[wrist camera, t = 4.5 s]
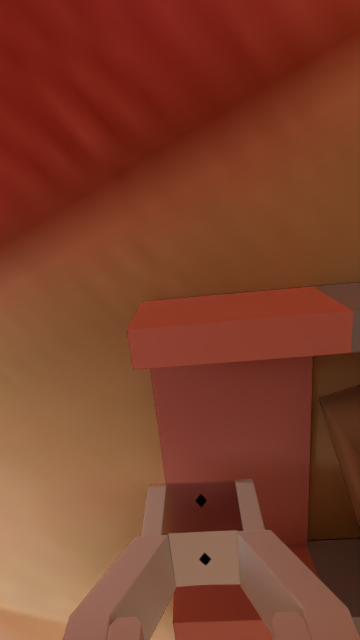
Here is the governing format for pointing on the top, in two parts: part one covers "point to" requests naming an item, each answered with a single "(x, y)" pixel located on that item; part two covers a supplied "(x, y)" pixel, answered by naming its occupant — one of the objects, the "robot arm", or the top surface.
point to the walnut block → (346, 437)
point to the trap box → (247, 423)
